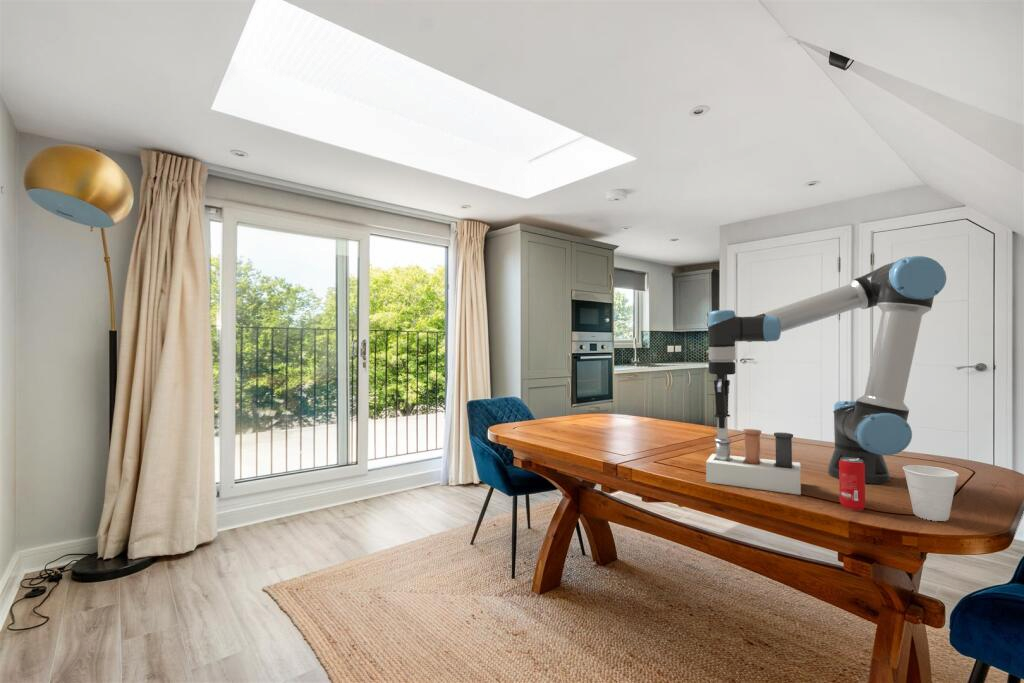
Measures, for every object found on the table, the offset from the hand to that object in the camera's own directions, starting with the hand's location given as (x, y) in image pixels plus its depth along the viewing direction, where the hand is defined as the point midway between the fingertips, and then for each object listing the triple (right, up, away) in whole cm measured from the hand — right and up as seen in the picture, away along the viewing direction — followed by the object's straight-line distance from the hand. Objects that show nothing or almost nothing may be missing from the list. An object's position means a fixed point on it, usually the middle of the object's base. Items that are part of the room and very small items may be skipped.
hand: (722, 438), depth 142 cm
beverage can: (+21, -12, -26) cm, 35 cm away
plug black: (+14, -7, -8) cm, 18 cm away
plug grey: (0, -10, 0) cm, 10 cm away
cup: (+34, -12, -33) cm, 49 cm away
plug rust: (+7, -6, -4) cm, 10 cm away
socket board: (+7, -12, -4) cm, 15 cm away
